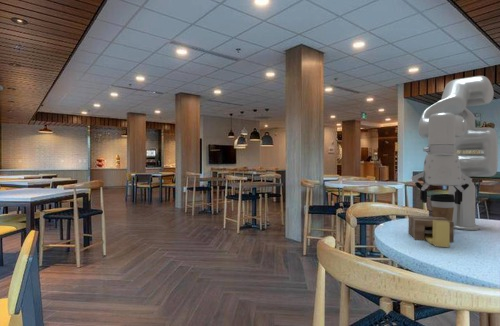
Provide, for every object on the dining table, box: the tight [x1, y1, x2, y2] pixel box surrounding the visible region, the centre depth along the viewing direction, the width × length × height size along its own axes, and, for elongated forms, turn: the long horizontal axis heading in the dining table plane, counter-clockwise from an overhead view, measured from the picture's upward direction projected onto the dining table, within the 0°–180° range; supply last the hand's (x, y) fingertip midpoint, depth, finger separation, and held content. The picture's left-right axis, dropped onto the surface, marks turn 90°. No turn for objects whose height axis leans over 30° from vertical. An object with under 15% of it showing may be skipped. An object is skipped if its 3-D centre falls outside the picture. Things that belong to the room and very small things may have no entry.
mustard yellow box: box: [425, 220, 450, 248], centre depth 107 cm, size 17×5×8 cm, turn 165°
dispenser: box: [408, 215, 455, 243], centre depth 112 cm, size 11×12×7 cm
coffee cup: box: [430, 193, 455, 221], centre depth 122 cm, size 8×8×15 cm
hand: (440, 203), depth 100 cm, fingers open, 9 cm apart
